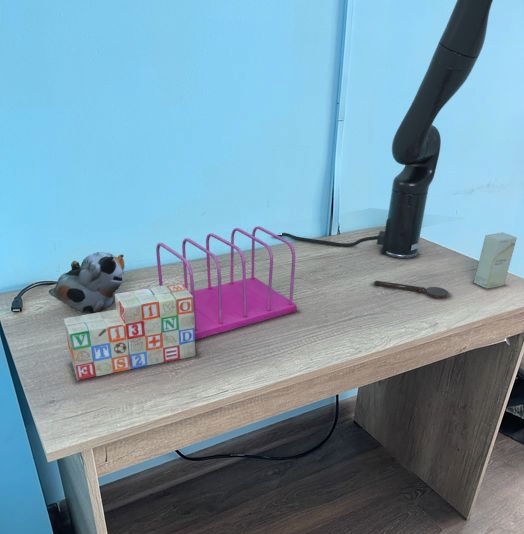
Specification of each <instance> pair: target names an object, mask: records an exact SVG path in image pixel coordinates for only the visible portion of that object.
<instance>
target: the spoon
mask: <svg viewBox="0 0 524 534" xmlns="http://www.w3.org/2000/svg"><path fill="white" fill-rule="evenodd" d="M373 285H374V286H377V287H383V288H390V289H396V290H403V291H410V292H416V293H418V294H424V295H426V296H428V297H430V298H432V299H437V300H438V299H439V300H442V299H446V298H447V297H448V295H449V292H448V290H447V289H445V288H443V287H440V286H429V287H427V288H426V287H424V286H417V285H411V284H403V283H397V282H396V283H395V282H389V281H383V280H374V281H373Z"/></svg>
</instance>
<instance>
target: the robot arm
mask: <svg viewBox="0 0 524 534" xmlns="http://www.w3.org/2000/svg"><path fill="white" fill-rule="evenodd" d="M493 1H494V0H456V2H455V5H454V7H453V9H452V11H451V12H452V13H451V14H450V17H449V19H448V21H447V24H446V26H445V28H444V31H443V32H442V35H441V37H440V39H439V41H438V43H437V46H436V48H435V50H434V53H433V55H432V57H431V59H430V62H429V64H428V67H427V70H426V72H425V74H424V76H423V78H422V80H421V83H420V85H419V87H418V90H417V91H416V94H415V96H414V98H413V100H412V102H411V104H410V106H409V108H408V110H407V111H406V113H405V115H404V117H403V119H402V121H401V122H400V125H399V126H398V128H397V130H396V132H395V134H394V136H393V139H392V142H391V155H392V158H393V160H394V161H395V162H396V163H397V164H399V165H403V166H404V167H403V169H402V170H401V171H400V172H399V174H397V175H396V176H395V177H394V178H393V181H392V184H391V193H390V199H389V207H388V213H387V218H386V222H385V227H384V228H385V229H384V230H380V231H379V232H378V235H375V236H367V237H363V238H359V239H357V240H356V241H354V242H349V243H347V242H346V243H343V242H336V241H330V240H323V239H315V238H310V237H309V238H308V237H301V236H297V235H294V234H291V233H288V232H281V233H282V235H278V234H277V235H278V236H280V237H281V238H282V237H287V238H289V239H292V240H295V241H300V242H308V243H314V244H321V245H329V246H335V247H342V248H343V247H344V248H351V247H356V246H357V245H359V244H361V243H363V242H368V241H376V245H379V246H382V250H381V255H386V256H389V257H393V258H397V259H411V258H415V257H416V256H417V255H418V249H419V246H420V237H421V232H422V227H423V221H424V215H425V210H426V203H427V200H428V199H427V198H428V192H429V189H430V186H431V184H432V183H433V180H434V178H435V174H436V171H437V170H436V169H437V166H438V162H439V157H440V152H441V146H442V145H441V144H442V142H441V141H442V140H441V134H440V131H439V129H438V128H437V127H436V126H435V125H433V123H434V122H435V119H436V118H437V116H438V114H439V113H440V112H441V110H442V109H443V108H444V107H445V105H446V104H448V102H449V101H450V100H451V99H452V98H453V97H454V95H456V93H457V92H458V91H459V90H460V89H461V88H462V86H463V85H464V84H465V83H466V81H467V80H468V78H469V76H470V74H471V73H472V71H473V68H474V67H475V64H476V63H477V61H478V59H479V56H480V54H481V52H482V50H483V47H484V44H485V40H486V35H487V31H488V24H489V16H490V12H491V7H492V5H493Z"/></svg>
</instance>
